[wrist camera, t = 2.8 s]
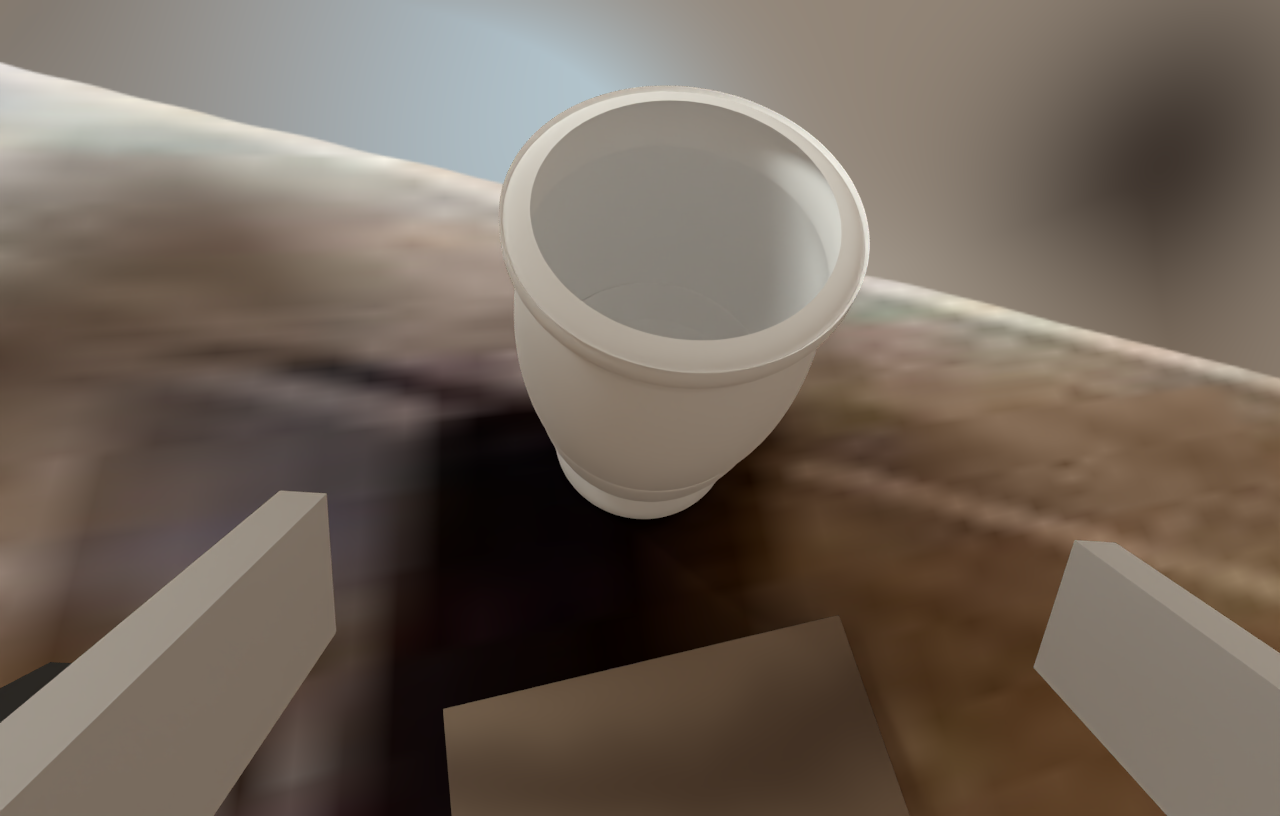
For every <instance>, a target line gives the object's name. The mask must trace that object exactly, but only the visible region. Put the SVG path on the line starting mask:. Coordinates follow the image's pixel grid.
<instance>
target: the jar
mask: <svg viewBox="0 0 1280 816" xmlns="http://www.w3.org/2000/svg"><path fill="white" fill-rule="evenodd" d="M499 227H500V241H501V248H502V254H503V258H504V262H505V266H506V269H507V271H508V274H509V277H510V279H511V281H512V283H513V286H514V288H515V293H514V330H515V341H516V349H517V355H518V360H519V365H520V369H521V373H522V377H523V380H524V383H525V386H526V389H527V392H528V395H529V397H530V400H531V402H532V404H533V407H534V409H535V411H536V413H537V415H538V417H539V419H540V420H541V422H542V424H543V426H544V427H545V429H546V432H547V434H548V436H549V438H550V440H551V441H552V443H553V445H554V447H555V448H556V452H557V456H558V460H559V462H560V465H561V467H562V470H563V472H564V473H565V475H566V477H567V479H568V480H569V481H570V483H571V484H572V485H573V487H574V488H575V489H576V490H577V491H578V492H579V493H580V494H581V495H582V496H583V497H584V498H585V499H587V500H588V501H589V502H591V503H592V504H594V505H595V506H597V507H599V508H601V509H603V510H605V511H607V512H609V513H612V514H615V515H618V516H622V517H626V518H633V519H654V518H661V517H666V516H669V515H672V514H675V513H678V512H680V511H682V510H684V509H686V508H688V507H690V506H691V505H693V504H694V503H696V502H697V501H699V500H700V499H701V498H702V497H703V496H704V495H705V494H706V493H707V492H708V491H709V490H710V489H711V488H712V486H713V485H714V484H715V482H716V481H717V480H718V479H720V478H721V477H722V476H724V475H725V474H726V473H727V472H728V471H730V470H731V469H732V468H733V467H734V466H735V465H736V464H737V463H738V462H740V461H741V460H742V459H744V458H745V457H746V456H748V455H749V454H750V453H751V452H752V451H753V450H754V449H756V448H757V447H758V446H759V445H760V444H761V443H762V442H763V441H764V440H765V439H766V437H767V436H768V435H769V434H770V433H771V432H772V431H773V429H774V428H775V427H776V426H777V424H778V423H779V422H780V420H781V419H782V418H783V416H784V415H785V413H786V412H787V410H788V409H789V407H790V406H791V404H792V403H793V401H794V399H795V397H796V396H797V394H798V392H799V390H800V388H801V386H802V384H803V382H804V380H805V378H806V376H807V373H808V371H809V369H810V366H811V364H812V361H813V358H814V356H815V353H816V350H817V348H818V347H819V346H820V345H821V344H822V343H823V342H824V341H825V340H826V339H827V338H828V337H829V336H830V335H831V334H832V333H833V332H834V331H835V330H836V328H837V327H838V326H839V325H840V323H841V322H842V320H843V319H844V317H845V316H846V314H847V312H848V311H849V309H850V307H851V305H852V303H853V301H854V299H855V297H856V296H857V294H858V292H859V290H860V287H861V285H862V282H863V280H864V277H865V273H866V270H867V265H868V260H869V250H870V238H869V228H868V222H867V217H866V213H865V210H864V207H863V204H862V201H861V199H860V196H859V194H858V192H857V190H856V188H855V186H854V185H853V182H852V181H851V179H850V177H849V176H848V174H847V173H846V171H845V170H844V168H843V167H842V166H841V164H840V163H839V162H838V161H837V159H836V158H835V157H834V156H833V155H832V154H831V153H830V152H829V151H828V150H827V149H826V148H825V147H824V146H823V145H822V144H821V143H820V142H819V141H818V140H817V139H816V138H814V137H813V136H812V135H811V134H809V133H808V132H807V131H806V130H804V129H803V128H801V127H800V126H799V125H797V124H795V123H794V122H792V121H791V120H789V119H787V118H786V117H784V116H782V115H780V114H779V113H777V112H775V111H773V110H771V109H769V108H766V107H764V106H762V105H760V104H757V103H755V102H752V101H750V100H746V99H744V98H741V97H738V96H734V95H731V94H727V93H723V92H719V91H714V90H709V89H703V88H695V87H687V86H646V87H636V88H629V89H624V90H619V91H615V92H610V93H607V94H603V95H600V96H597V97H594V98H591V99H589V100H586V101H584V102H581V103H580V104H577V105H575V106H573V107H571V108H569V109H567V110H565V111H564V112H562V113H560V114H559V115H557V116H556V117H554V118H553V119H551V120H550V121H549V122H548V123H546V124H545V125H544V126H542V127H541V128H540V129H539V130H538V131H537V132H536V133H535V134H534V135H533V136H532V137H531V138H530V139H529V140H528V141H527V142H526V144H525V145H524V146H523V147H522V148H521V150H520V151H519V153H518V154H517V156H516V157H515V159H514V161H513V162H512V165H511V166H510V168H509V170H508V173H507V175H506V178H505V181H504V184H503V187H502V191H501V197H500V204H499Z"/></svg>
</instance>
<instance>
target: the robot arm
mask: <svg viewBox="0 0 1280 816" xmlns="http://www.w3.org/2000/svg"><path fill="white" fill-rule="evenodd" d="M335 633H336V622H335V608H334V593H333V579H332V564H331V550H330V535H329V521H328V506H327V494H326V493H310V492H294V491H279V492H278V493H276V494H275V495H274V496H273V497H272V498H270V499H269V500H268V501H267V502H266V503H264V504H263V505H262V506H261V507H260V508H258V509H257V510H256V511H255V512H254V513H252V514H251V515H250V516H249V517H248V518H246V519H245V520H244V521H243V522H242V523H240V524H239V525H238V526H237V527H235V528H234V529H233V530H232V531H231V532H229V533H228V534H227V535H226V536H225V537H223V538H222V539H221V540H220V541H219V542H217V543H216V544H215V545H214V546H213V547H211V548H210V549H209V550H208V551H207V552H205V553H204V554H203V555H202V556H201V557H199V558H198V559H197V560H196V561H195V562H193V563H192V564H191V565H190V566H189V567H187V568H186V569H185V570H184V571H183V572H181V573H180V574H179V575H178V576H177V577H175V578H174V579H173V580H172V581H171V582H169V583H168V584H167V585H166V586H164V587H163V588H162V589H161V590H160V591H158V592H157V593H156V594H155V595H154V596H152V597H151V598H150V599H149V600H148V601H146V602H145V603H144V604H143V605H142V606H140V607H139V608H138V609H137V610H136V611H134V612H133V613H132V614H131V615H130V616H128V617H127V618H126V619H125V620H124V621H122V622H121V623H120V624H119V625H118V626H116V627H115V628H114V629H113V630H112V631H110V632H109V633H108V634H107V635H106V636H104V637H103V638H102V639H101V640H100V641H98V642H97V643H96V644H95V645H93V646H92V647H91V648H90V649H89V650H87V651H86V652H85V653H84V654H83V655H81V656H80V657H79V658H78V659H77V660H75V661H74V662H73V663H54V662H50V663H48V664H46V665H44V666H42V667H40V668H39V669H37V670H35V671H33V672H31V673H29V674H27V675H25V676H23V677H21V678H19V679H17V680H15V681H14V682H12V683H10V684H8V685H6V686H4V687H2V688H0V816H214V814H215V813H216V811H217V810H218V808H219V807H220V805H221V804H222V802H223V801H224V799H225V798H226V796H227V795H228V793H229V792H230V790H231V789H232V787H233V786H234V784H235V783H236V781H237V780H238V778H239V777H240V775H241V774H242V772H243V771H244V769H245V768H246V766H247V765H248V763H249V762H250V761H251V759H252V758H253V756H254V755H255V753H256V752H257V750H258V749H259V747H260V746H261V744H262V743H263V741H264V740H265V738H266V737H267V735H268V734H269V732H270V731H271V729H272V728H273V726H274V725H275V723H276V722H277V720H278V719H279V717H280V716H281V714H282V713H283V711H284V710H285V708H286V707H287V705H288V704H289V702H290V701H291V699H292V698H293V696H294V695H295V693H296V692H297V690H298V689H299V687H300V686H301V684H302V683H303V681H304V680H305V678H306V677H307V675H308V674H309V672H310V671H311V669H312V668H313V666H314V665H315V663H316V662H317V660H318V659H319V657H320V656H321V654H322V653H323V651H324V650H325V648H326V647H327V645H328V644H329V642H330V641H331V639H332V638H333V636H334V635H335ZM1033 668H1034V669H1035V670H1036V671H1037V672H1038V673H1039V674H1040V675H1041V676H1042V678H1043V679H1044V680H1045V681H1046V682H1047V683H1048V684H1049V685H1050V686H1051V688H1052V689H1053V690H1054V691H1055V692H1056V693H1057V694H1058V695H1059V696H1060V698H1061V699H1062V700H1063V701H1064V702H1065V703H1066V704H1067V705H1068V706H1069V707H1070V709H1071V710H1072V711H1073V712H1074V713H1075V714H1076V715H1077V716H1078V717H1079V719H1080V720H1081V721H1082V722H1083V723H1084V724H1085V725H1086V726H1087V727H1088V729H1089V730H1090V731H1091V732H1092V733H1093V734H1094V735H1095V736H1096V737H1097V739H1098V740H1099V741H1100V742H1101V743H1102V744H1103V745H1104V746H1105V747H1106V749H1107V750H1108V751H1109V752H1110V753H1111V754H1112V755H1113V756H1114V757H1115V758H1116V760H1117V761H1118V762H1119V763H1120V764H1121V765H1122V766H1123V767H1124V768H1125V770H1126V771H1127V772H1128V773H1129V774H1130V775H1131V776H1132V777H1133V778H1134V780H1135V781H1136V782H1137V783H1138V784H1139V785H1140V786H1141V787H1142V788H1143V790H1144V791H1145V792H1146V793H1147V794H1148V795H1149V796H1150V797H1151V798H1152V799H1153V801H1154V802H1155V803H1156V804H1157V805H1158V806H1159V807H1160V808H1161V809H1162V811H1163V812H1164V813H1165V814H1166V815H1167V816H1280V653H1279V652H1277V651H1276V650H1274V649H1273V648H1271V647H1270V646H1268V645H1267V644H1265V643H1264V642H1262V641H1261V640H1259V639H1258V638H1256V637H1255V636H1253V635H1252V634H1250V633H1249V632H1247V631H1246V630H1244V629H1243V628H1241V627H1240V626H1238V625H1237V624H1236V623H1234V622H1233V621H1231V620H1230V619H1228V618H1227V617H1225V616H1224V615H1222V614H1221V613H1219V612H1218V611H1216V610H1215V609H1213V608H1212V607H1210V606H1209V605H1207V604H1206V603H1204V602H1203V601H1201V600H1200V599H1198V598H1197V597H1195V596H1194V595H1192V594H1191V593H1189V592H1188V591H1187V590H1185V589H1184V588H1182V587H1181V586H1179V585H1178V584H1176V583H1175V582H1173V581H1172V580H1170V579H1169V578H1167V577H1166V576H1164V575H1163V574H1161V573H1160V572H1158V571H1157V570H1155V569H1154V568H1152V567H1151V566H1149V565H1148V564H1146V563H1145V562H1143V561H1142V560H1140V559H1139V558H1137V557H1136V556H1135V555H1133V554H1132V553H1130V552H1129V551H1127V550H1126V549H1124V548H1123V547H1121V546H1120V545H1118V544H1117V543H1114V542H1098V541H1082V540H1074V544H1073V547H1072V550H1071V553H1070V556H1069V559H1068V562H1067V565H1066V568H1065V571H1064V574H1063V578H1062V581H1061V584H1060V587H1059V590H1058V593H1057V596H1056V599H1055V602H1054V605H1053V608H1052V611H1051V615H1050V618H1049V621H1048V624H1047V627H1046V630H1045V633H1044V636H1043V639H1042V642H1041V645H1040V649H1039V652H1038V655H1037V658H1036V661H1035V664H1034V667H1033Z"/></svg>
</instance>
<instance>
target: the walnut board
mask: <svg viewBox="0 0 1280 816" xmlns="http://www.w3.org/2000/svg"><path fill="white" fill-rule="evenodd" d="M443 715H444V727H445V739H446V751H447V764H448V776H449V788H450V800H451V813H452V816H910V815H909V812H908V809H907V806H906V803H905V801H904V798H903V795H902V792H901V789H900V786H899V784H898V781H897V778H896V775H895V772H894V769H893V767H892V764H891V761H890V758H889V755H888V752H887V750H886V747H885V744H884V741H883V738H882V735H881V733H880V730H879V727H878V724H877V721H876V718H875V716H874V713H873V710H872V707H871V704H870V702H869V699H868V696H867V693H866V690H865V687H864V685H863V682H862V679H861V676H860V673H859V670H858V668H857V665H856V662H855V659H854V656H853V653H852V651H851V648H850V645H849V642H848V639H847V636H846V634H845V631H844V628H843V625H842V622H841V619H840V617H839V615H836V616H832V617H828V618H824V619H819V620H815V621H811V622H807V623H803V624H798V625H794V626H790V627H786V628H782V629H777V630H773V631H769V632H765V633H761V634H756V635H752V636H748V637H744V638H740V639H735V640H731V641H727V642H723V643H719V644H715V645H710V646H706V647H702V648H698V649H694V650H689V651H685V652H681V653H677V654H673V655H668V656H664V657H660V658H656V659H652V660H647V661H643V662H639V663H635V664H631V665H626V666H622V667H618V668H614V669H610V670H605V671H601V672H597V673H593V674H589V675H584V676H580V677H576V678H572V679H568V680H563V681H559V682H555V683H551V684H547V685H542V686H538V687H534V688H530V689H526V690H521V691H517V692H513V693H509V694H505V695H500V696H496V697H492V698H488V699H484V700H479V701H475V702H471V703H467V704H463V705H459V706H454V707H450V708H446V709H443Z"/></svg>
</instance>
